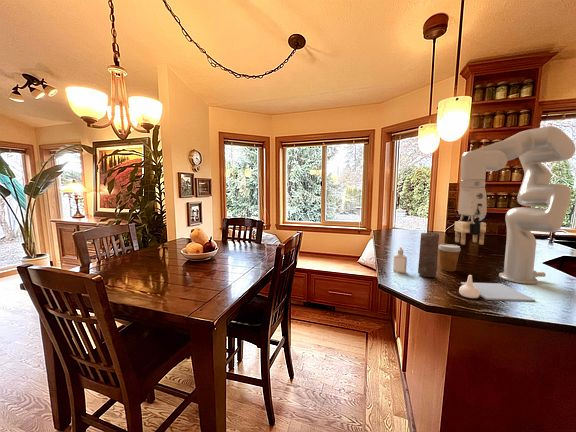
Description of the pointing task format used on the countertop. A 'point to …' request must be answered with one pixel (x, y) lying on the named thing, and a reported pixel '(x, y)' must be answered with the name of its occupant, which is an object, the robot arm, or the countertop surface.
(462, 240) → the beech stool
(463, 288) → the garlic bulb
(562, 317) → the countertop surface
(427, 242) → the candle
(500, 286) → the felt mat
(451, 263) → the disposable coffee cup
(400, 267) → the eye dropper bottle
